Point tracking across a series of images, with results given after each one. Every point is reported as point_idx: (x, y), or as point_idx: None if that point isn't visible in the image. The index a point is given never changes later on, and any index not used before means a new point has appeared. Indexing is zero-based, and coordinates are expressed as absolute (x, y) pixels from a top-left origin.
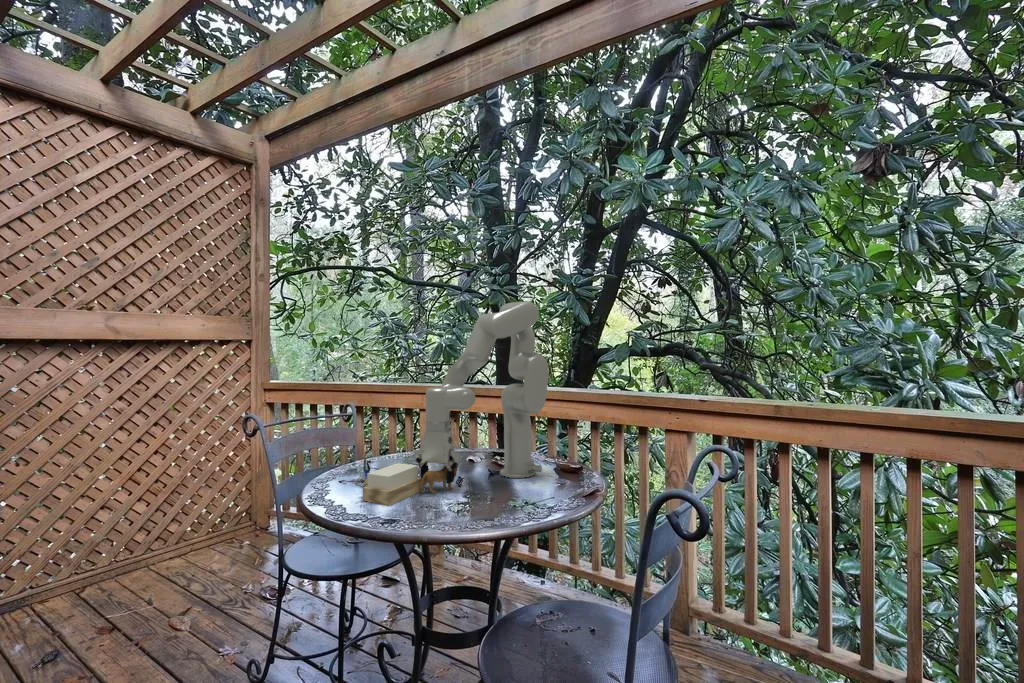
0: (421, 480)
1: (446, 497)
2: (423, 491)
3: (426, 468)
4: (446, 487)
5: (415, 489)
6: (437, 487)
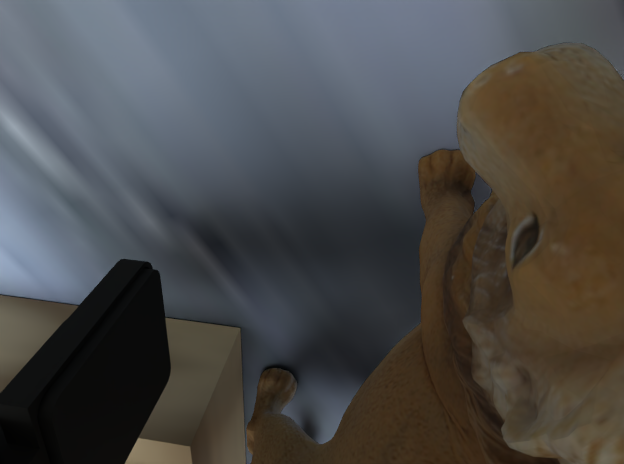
0: (203, 440)
1: None
2: (293, 394)
3: (82, 427)
4: (473, 181)
5: (232, 455)
6: (328, 177)
